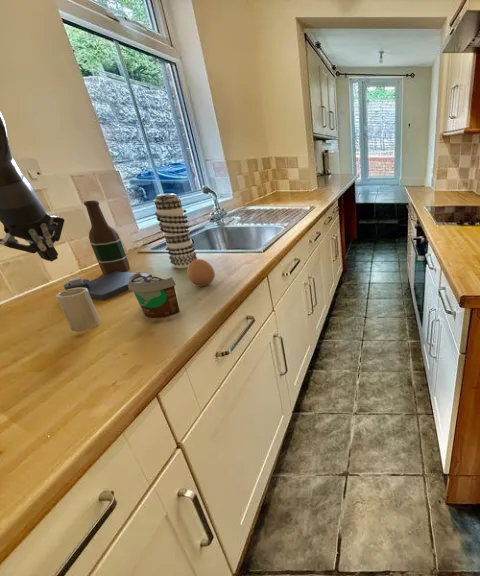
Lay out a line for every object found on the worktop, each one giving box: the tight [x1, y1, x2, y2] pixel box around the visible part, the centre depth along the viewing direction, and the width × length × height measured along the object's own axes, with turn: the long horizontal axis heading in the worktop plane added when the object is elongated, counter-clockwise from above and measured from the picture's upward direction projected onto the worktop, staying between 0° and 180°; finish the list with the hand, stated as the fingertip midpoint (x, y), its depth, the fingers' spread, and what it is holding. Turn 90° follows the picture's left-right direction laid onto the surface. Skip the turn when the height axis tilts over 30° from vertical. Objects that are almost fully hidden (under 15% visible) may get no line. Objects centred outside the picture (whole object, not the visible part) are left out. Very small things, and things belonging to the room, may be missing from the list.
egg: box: [186, 258, 216, 287], centre depth 98 cm, size 7×7×8 cm
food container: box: [128, 272, 181, 319], centre depth 80 cm, size 12×6×10 cm, turn 71°
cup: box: [55, 287, 102, 332], centre depth 75 cm, size 5×5×9 cm
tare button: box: [68, 276, 84, 285], centre depth 92 cm, size 3×3×2 cm
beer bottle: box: [83, 200, 131, 275], centre depth 106 cm, size 8×8×24 cm
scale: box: [63, 271, 153, 301], centre depth 97 cm, size 14×16×4 cm
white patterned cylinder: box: [152, 193, 198, 269], centre depth 112 cm, size 9×9×25 cm
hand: (51, 258), depth 79 cm, fingers closed
